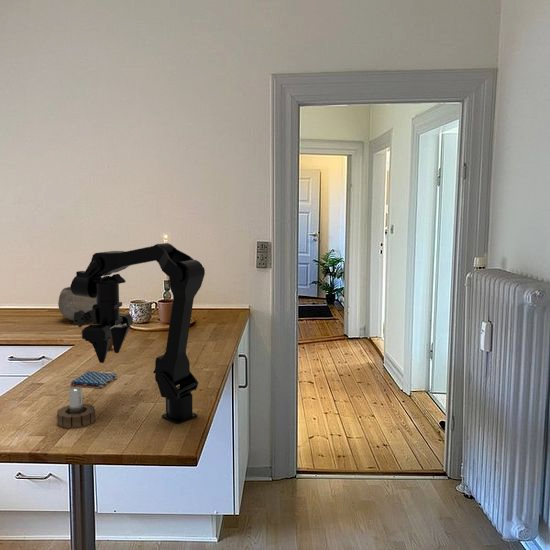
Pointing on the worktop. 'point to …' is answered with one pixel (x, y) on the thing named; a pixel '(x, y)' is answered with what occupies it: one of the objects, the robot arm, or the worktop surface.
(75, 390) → the grey cylinder
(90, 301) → the clay pot
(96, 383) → the woven mat
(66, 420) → the walnut gear
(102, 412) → the worktop surface
